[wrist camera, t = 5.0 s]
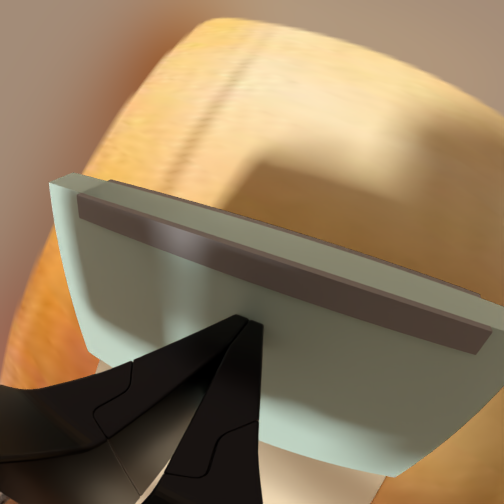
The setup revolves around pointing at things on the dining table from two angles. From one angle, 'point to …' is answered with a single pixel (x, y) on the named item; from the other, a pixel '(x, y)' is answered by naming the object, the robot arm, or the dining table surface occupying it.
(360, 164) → the dining table surface
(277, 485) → the beige flat square pad
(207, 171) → the dining table surface
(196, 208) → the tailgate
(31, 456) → the robot arm
